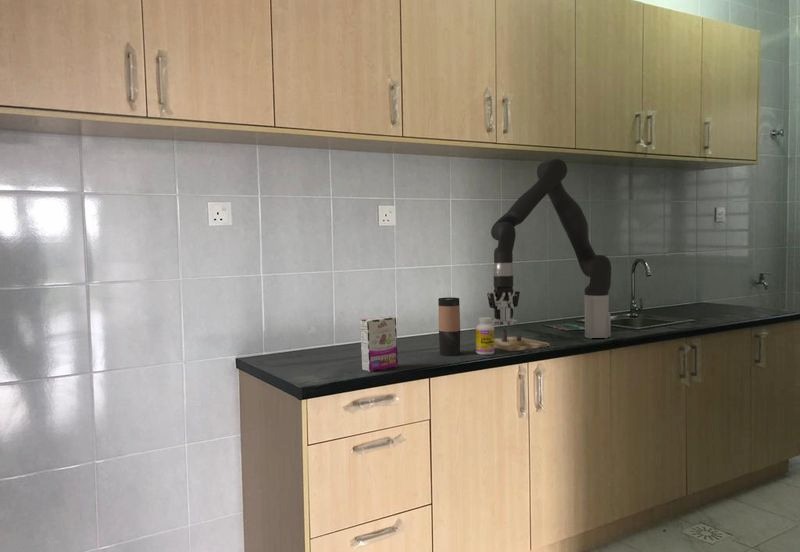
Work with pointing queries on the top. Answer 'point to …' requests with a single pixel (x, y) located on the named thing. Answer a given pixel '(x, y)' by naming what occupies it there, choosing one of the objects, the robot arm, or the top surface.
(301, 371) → the top surface
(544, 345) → the carrier board
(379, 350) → the candy bar box
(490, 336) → the supplement bottle
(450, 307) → the travel mug
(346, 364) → the top surface
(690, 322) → the top surface
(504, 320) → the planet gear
